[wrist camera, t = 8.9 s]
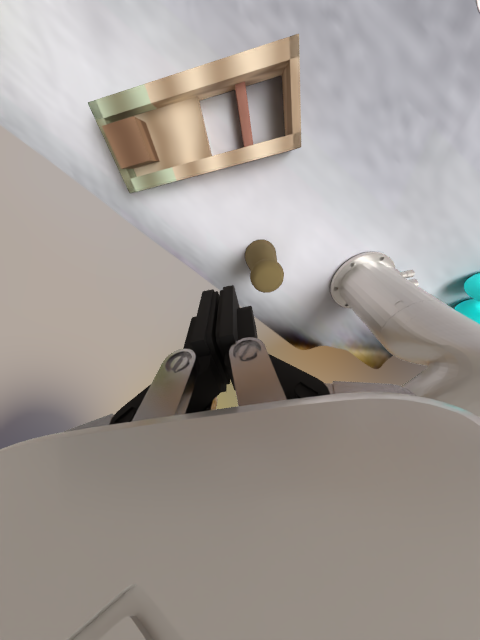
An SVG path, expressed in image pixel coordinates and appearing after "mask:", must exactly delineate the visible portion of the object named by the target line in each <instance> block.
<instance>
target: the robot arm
mask: <svg viewBox="0 0 480 640" xmlns="http://www.w3.org/2000/svg"><path fill="white" fill-rule="evenodd" d="M414 274H415V273H414V271H413V270H408V271H404V272H400V271H398V270H397V269H395V265H394V262H393V261H392V260H391V258H390V257H388V256H386V255H385V254H382V253H379V252H366V253H362V254H359V255H357V256H355V257H353V258H351V259H349V260H348V261H347V262H345V263H344V264H343V265H342V266H341V267H340V268H339V269H338V271H337V272H336V273H335V275H334V277H333V279H332V282H331V287H330V291H331V295H332V298H333V299H334V301H335V302H336V303H337V304H338V305H340V306H342V307H344V308H351V309H352V310H353V311H354V312H355V313H356V314H357V316H358V317H359V318H360V319H361V320H362V321H363V323H364V324H365V325H366V326H367V327H368V328H369V330H370V331H371V332H372V333H373V334H374V335H375V337H376V338H377V339H378V340H379V341H380V342H381V344H382V345H383V346H384V347H385V348H386V349H387V350H388V351H389V352H390V353H391V354H392V355H394V356H395V357H397V358H399V359H401V360H404V361H407V362H411V363H415V364H421V365H426V366H427V368H426V369H425V370H424V371H422V372H421V373H420V374H418V375H417V376H416V377H414V378H413V379H411V380H410V381H408V382H407V383H405V384H404V385H402V386H398V385H393V384H379V383H360V382H341V381H333V384H326V383H323V382H322V381H320V380H319V379H317V378H315V377H313V376H311V375H309V374H307V373H305V372H304V371H302V370H299V369H297V368H296V367H294V366H292V365H290V364H288V363H285V362H284V361H282V360H280V359H277V358H276V357H274V356H272V355H269V354H268V353H267V350H266V348H265V345H264V344H263V342H262V341H261V340H259V339H258V338H257V331H256V325H255V321H254V315H253V310H252V306H248V307H243V308H239V304H238V300H237V296H236V292H235V288H234V285H232V286H227V287H223V290H221V291H220V295H219V294H218V292H217V291H216V292H214V290H208V291H203V293H202V297H201V300H200V305H199V308H198V313H197V316H196V317H193V318H192V319H191V323H190V327H189V330H188V334H187V337H186V341H185V344H184V348H183V349H180V350H177V351H175V352H173V353H171V354H170V355H169V356H168V357H167V358H166V359H165V360H164V361H163V363H162V365H161V367H160V369H159V371H158V373H157V374H156V376H155V378H154V380H153V382H152V384H151V385H150V386H148V387H147V388H146V389H145V390H143V391H142V392H141V393H140V394H138V395H137V396H136V397H135V398H133V399H132V400H131V401H130V402H128V403H127V404H126V405H125V406H123V407H122V408H121V409H120V410H119V411H118V412H117V413H116V414H115V415H113V414H110V415H107V416H105V417H102V418H99V419H96V420H94V421H91V422H88V423H86V424H83V425H80V426H78V427H75V428H72V429H69V430H67V431H65V432H62V433H56V434H52V435H47V436H43V437H38V438H34V439H30V440H27V441H24V442H20V443H17V444H14V445H11V446H9V447H6V448H3V449H0V640H480V324H479V323H477V322H475V321H473V320H472V319H470V318H468V317H467V316H465V315H463V314H461V313H460V312H458V311H456V310H455V309H453V308H451V307H450V306H448V305H447V304H445V303H444V302H442V301H440V300H439V299H437V298H436V297H434V296H432V295H431V294H429V293H428V292H426V291H424V290H423V289H421V288H420V287H418V281H417V280H416V279H411V280H407V279H405V278H409V277H413V276H414ZM230 379H231V382H232V384H233V387H234V390H235V391H236V394H237V399H238V405H239V407H231V408H224V409H217V410H216V406H217V395H219V393H221V392H225V391H226V384H230Z"/></svg>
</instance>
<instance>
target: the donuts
mask: <svg viewBox="0 0 480 640" xmlns="http://www.w3.org/2000/svg"><path fill="white" fill-rule="evenodd" d="M464 290H465V292H466V293H467V294H468V295H469V296H470V297H472V298H473V299H470V300H466V301H463V302H461V303H459V304H458V305H457V306H456V307H455V308H454V309H455V310H456V311H458V312H460V313H461V314H463V315H465V316H467V317H468V318H470V319H472V320H473V321H475V322H477V323H479V324H480V273H478V274H475V275H473V276H471V277H470V278H468V279H467V280H466V282H465V284H464Z"/></svg>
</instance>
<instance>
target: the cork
mask: <svg viewBox="0 0 480 640" xmlns="http://www.w3.org/2000/svg"><path fill="white" fill-rule="evenodd" d="M245 260H246V263H247V265H248V267H249V269H250V271H251V273H250V279H251V282H252V285H253V286H254V287H255V288H256V289H257V290H258V291H261V292H272V291H274V290H276V289H277V288H278V287H279V286H280V285H281V284H282V282H283V277H284V272H283V269H282V267H281V265H280V264H279V263H278V262H277V258H276V251H275V248H274V246H273V245H272V244H271V243H270V242H269V241H266V240H256V241H254V242H252V243H251V244H250V245H249V246H248V247H247V249H246V252H245Z"/></svg>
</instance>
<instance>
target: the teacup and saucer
mask: <svg viewBox="0 0 480 640" xmlns="http://www.w3.org/2000/svg"><path fill="white" fill-rule="evenodd" d="M476 2H477V7H478V10H479V12H480V0H476Z"/></svg>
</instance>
